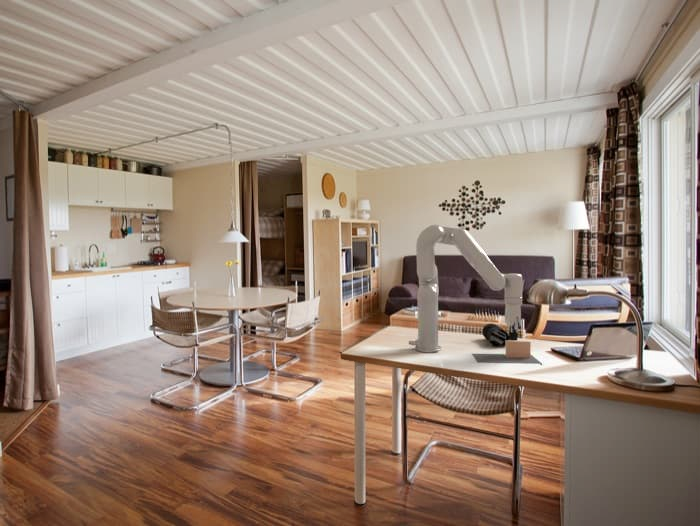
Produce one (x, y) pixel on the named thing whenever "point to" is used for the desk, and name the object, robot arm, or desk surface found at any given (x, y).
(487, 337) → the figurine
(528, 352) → the block
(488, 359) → the mat
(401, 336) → the desk surface
